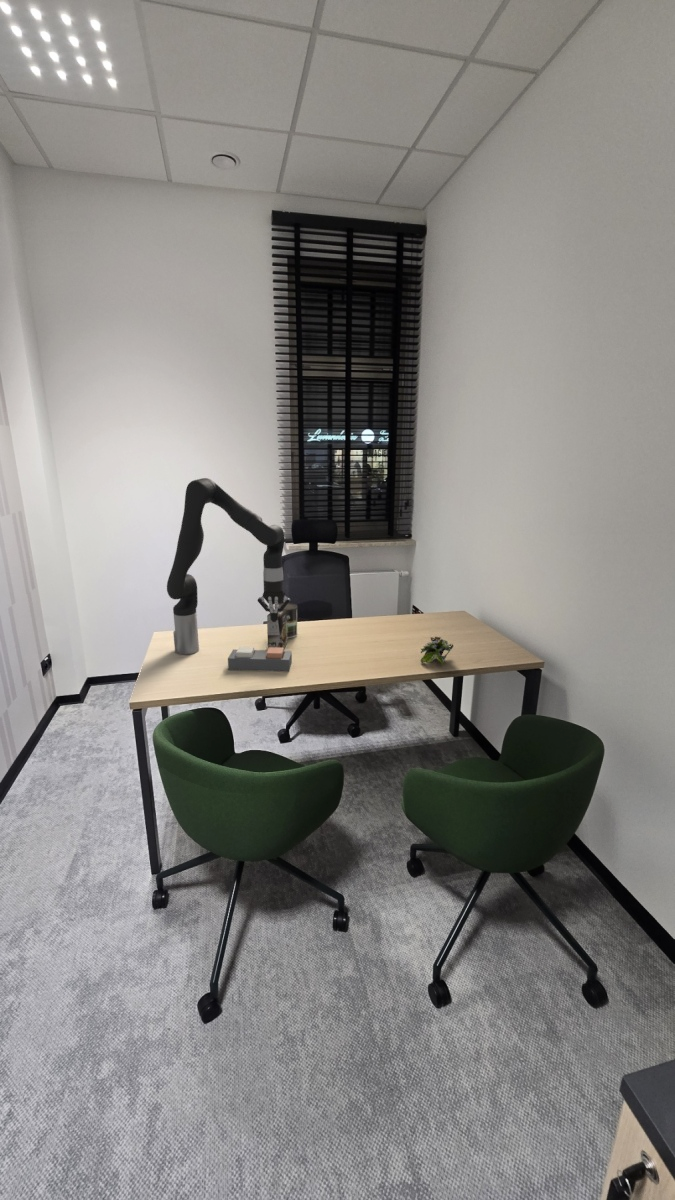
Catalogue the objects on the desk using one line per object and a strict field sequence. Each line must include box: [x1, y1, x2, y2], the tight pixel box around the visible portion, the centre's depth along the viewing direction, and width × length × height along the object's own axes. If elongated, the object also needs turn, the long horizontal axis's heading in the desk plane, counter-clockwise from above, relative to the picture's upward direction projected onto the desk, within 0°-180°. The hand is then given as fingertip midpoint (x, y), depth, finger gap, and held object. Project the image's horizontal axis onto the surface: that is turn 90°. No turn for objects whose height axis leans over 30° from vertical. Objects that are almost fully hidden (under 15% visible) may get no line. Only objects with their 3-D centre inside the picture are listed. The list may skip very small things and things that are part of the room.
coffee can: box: [279, 602, 298, 639], centre depth 226 cm, size 10×10×14 cm
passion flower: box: [420, 636, 454, 666], centre depth 199 cm, size 13×12×14 cm
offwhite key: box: [236, 646, 255, 658], centre depth 192 cm, size 6×6×3 cm
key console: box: [227, 649, 293, 672], centre depth 193 cm, size 24×9×5 cm, turn 89°
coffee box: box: [266, 610, 288, 649], centre depth 211 cm, size 9×6×16 cm
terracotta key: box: [267, 647, 285, 659], centre depth 192 cm, size 6×6×3 cm
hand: (274, 621), depth 188 cm, fingers closed
